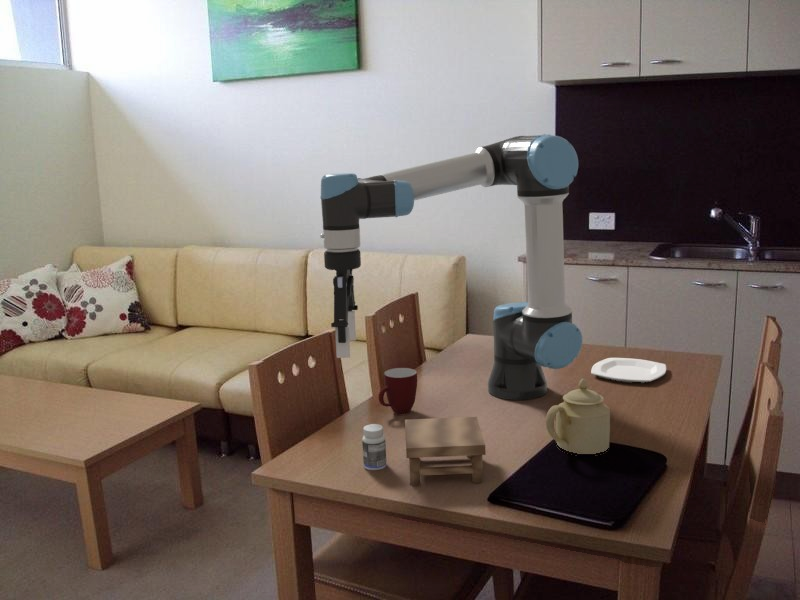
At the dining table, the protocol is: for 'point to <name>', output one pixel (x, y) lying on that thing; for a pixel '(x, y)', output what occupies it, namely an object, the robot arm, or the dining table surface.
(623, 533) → the dining table surface
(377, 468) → the pill bottle
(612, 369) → the plate
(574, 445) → the sugar bowl
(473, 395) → the dining table surface
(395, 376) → the mug
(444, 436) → the small wooden bench
